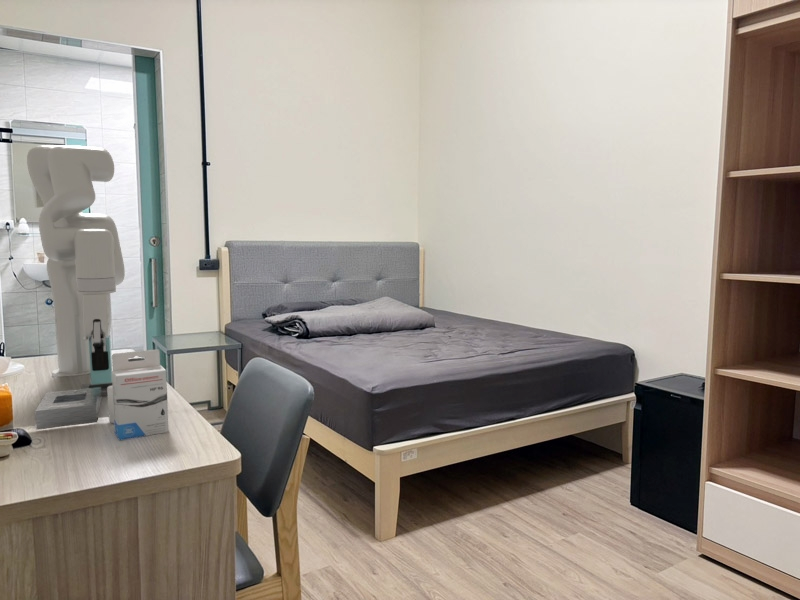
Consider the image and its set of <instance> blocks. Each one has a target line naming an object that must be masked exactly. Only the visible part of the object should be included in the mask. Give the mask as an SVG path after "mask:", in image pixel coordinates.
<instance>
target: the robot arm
mask: <svg viewBox="0 0 800 600" xmlns="http://www.w3.org/2000/svg"><path fill="white" fill-rule="evenodd" d="M26 164H27V170H28V174H29V177H30V181H31V183H32V184H33V187H34V189H35V190H36V193H37V194H38V196H39V198H40V200H41V202H42V205H43V207H42V210H41V211H40V214H39V218H38V231H39V236H40V241H41V246H42V249H43V253H44V255H45V256H46V257H47V260H46V261H47V262H46V271H47V277H48V279H49V285H50V288H51V294H52V302H53V314H54V323H55V325H54V326H55V336H56V337H55V338H56V352H57V353H56V354H57V365H58V368H56V369H54V370H52V371H51V377H52V378H60V377H62V378H63V377H68V376H69V377H71V376H74V377H75V376H81V375H82V376H84V375H91V369H90V353H89V338H90V336H91V341H92V353H91V356H92V370H93V371H99V370H108V369H109V361H108V351H107V352H106V338H108V337H109V335H110V336H111V334H110V333H111V329H112V308H111V307H112V306H111V305H112V303H111V294H113V293H117V292H116V291H117V287H116V286H119V285H121V284H122V283H123V282H124V280H125V274H126V273H125V272H126V269H125V264H124V259H123V253H122V248H121V247H122V246H121V243H120V238H119V233H118V229H117V225H116V223H115V221H114V219H113V218H112V217H111V216H109V215H108V214H103V213H85V212H83V211H85V210H86V209H89V208H90V207H91V206H93V204H94V202H95V200H96V193H95V189H94V185H93V182H98V183H99V182H100V183H101V182H102V183H107V182H108V183H109V182H110V181H112V180H113V178H114V175H115V163H114V160H113V157H112V155H111V154H110V152H109V151H108V150H107V149H106V148H102V147H99V146H98V147H96V146H84V145H68V144H67V145H66V144H65V145H64V144H63V145H56V144H55V145H54V144H46V145H45V144H43V145H42V144H41V145H37V146H34V147H31V148H30V149H29V150H28V152H27V155H26ZM101 335H104V338H101ZM101 341H103V342H101Z"/></svg>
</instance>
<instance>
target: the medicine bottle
mask: <svg viewBox="0 0 800 600" xmlns="http://www.w3.org/2000/svg"><path fill="white" fill-rule="evenodd" d="M144 359H145V357H136V358H135V357H134V358H129V359H128V361H129V362H130V361H140V360H144ZM107 394H108V396H107V407H108V408H107V409H108V410H107V411H108V420H109V423H111V424H114V425H115V423H114V404H113V387H112V386H108V387H107Z"/></svg>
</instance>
